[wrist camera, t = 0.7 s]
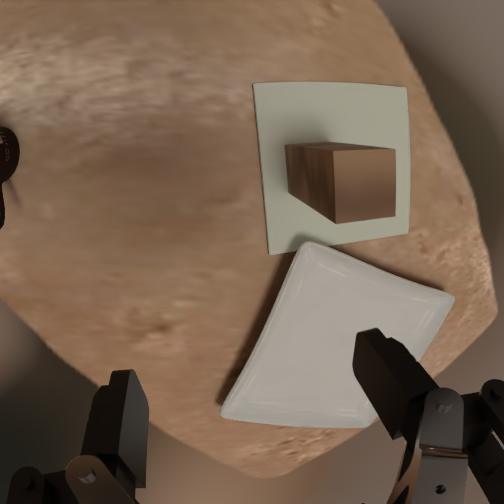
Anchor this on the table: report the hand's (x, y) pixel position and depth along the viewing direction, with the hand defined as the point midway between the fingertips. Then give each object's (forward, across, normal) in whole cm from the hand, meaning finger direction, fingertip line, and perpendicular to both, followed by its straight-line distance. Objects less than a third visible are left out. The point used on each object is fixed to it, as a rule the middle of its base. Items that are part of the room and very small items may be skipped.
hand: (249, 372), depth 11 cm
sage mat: (+24, -14, -3) cm, 28 cm away
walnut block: (+23, -10, -3) cm, 26 cm away
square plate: (+24, -15, +22) cm, 35 cm away
